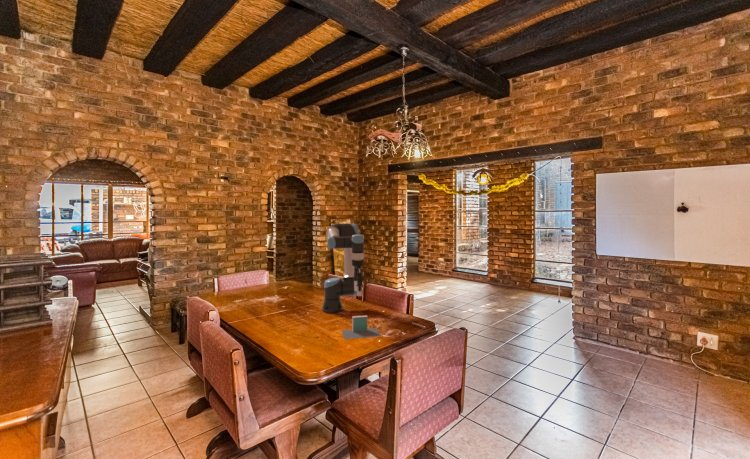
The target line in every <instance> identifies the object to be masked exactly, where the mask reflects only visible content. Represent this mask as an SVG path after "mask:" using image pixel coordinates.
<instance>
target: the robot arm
mask: <svg viewBox="0 0 750 459" xmlns="http://www.w3.org/2000/svg"><path fill="white" fill-rule="evenodd" d="M325 235H326V238H327V239H326V244H327V245H326V246H327V248H328V249H332V250H333V249H334V250H335V249H343V254H344V255H343V261H344V264H343V265H344V276H342V279H341V278H340V277H331V278H328V279H326V280H324V283H323V284H324V286H323V287H324V296H323V297H324V301H323V303H322V308H321V311H322V312H324V313H329V314H333V313H335V314H336V313H340V312H342V311H343V309H344V308H343V304H342V300H341V296H342V297H344V296H357V297H362V295H363V291H362V289H363V287H362V286H363V277H362V276H363V275H362V274H363V272H362V268H361V267H363V266H364V265H365V260H364V259H365V253H364V252H365V249H364V248H365V238H364V234H360V233H359V227H358V225H357V224H356V223H334V224H332V225H330V226H328V227H327V228H326V231H325Z"/></svg>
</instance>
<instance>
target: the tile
mask: <svg viewBox="0 0 750 459" xmlns="http://www.w3.org/2000/svg"><path fill="white" fill-rule="evenodd" d="M351 323H352V326H351V327H352V328H351V330H352V331H353V332H358V331H367V328H368V315H354V316H353V315H352V322H351Z"/></svg>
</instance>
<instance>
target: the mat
mask: <svg viewBox="0 0 750 459" xmlns="http://www.w3.org/2000/svg"><path fill="white" fill-rule="evenodd" d="M341 333H342V336H343V339H344V340H351V339H353V340H354V339H363V338H376V337H377V338H379V337H382V335H381V333H380V332H379V330H378V328H377V327H367V331H358V332H353V331H352V329H342V330H341Z"/></svg>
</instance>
